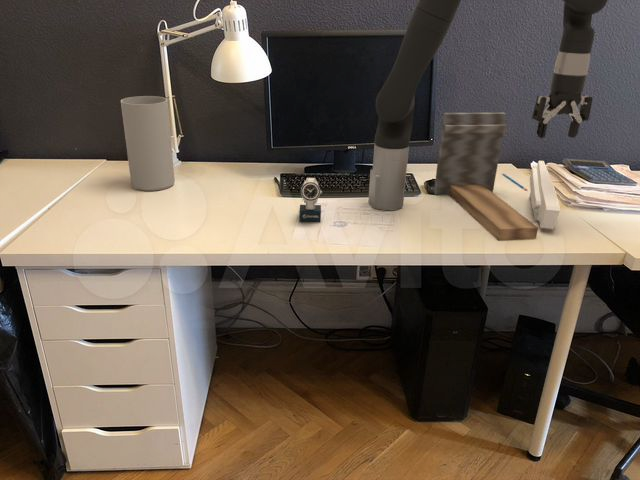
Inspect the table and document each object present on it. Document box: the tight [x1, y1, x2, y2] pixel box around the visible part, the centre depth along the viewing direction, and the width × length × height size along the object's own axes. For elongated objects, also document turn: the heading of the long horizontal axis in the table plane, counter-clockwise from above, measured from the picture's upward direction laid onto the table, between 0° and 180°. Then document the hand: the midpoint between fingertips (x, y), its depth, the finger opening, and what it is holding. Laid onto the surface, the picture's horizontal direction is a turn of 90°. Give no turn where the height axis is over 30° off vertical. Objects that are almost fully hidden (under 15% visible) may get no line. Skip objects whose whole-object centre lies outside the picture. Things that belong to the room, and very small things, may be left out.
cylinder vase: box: [120, 95, 176, 192], centre depth 156 cm, size 12×12×25 cm
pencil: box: [500, 172, 528, 192], centre depth 173 cm, size 1×17×1 cm, turn 9°
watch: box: [298, 177, 323, 223], centre depth 138 cm, size 6×8×11 cm
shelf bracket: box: [528, 160, 561, 230], centre depth 146 cm, size 6×25×13 cm, turn 168°
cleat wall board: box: [433, 111, 539, 241], centre depth 142 cm, size 18×34×24 cm, turn 10°
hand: (556, 137), depth 138 cm, fingers open, 8 cm apart
